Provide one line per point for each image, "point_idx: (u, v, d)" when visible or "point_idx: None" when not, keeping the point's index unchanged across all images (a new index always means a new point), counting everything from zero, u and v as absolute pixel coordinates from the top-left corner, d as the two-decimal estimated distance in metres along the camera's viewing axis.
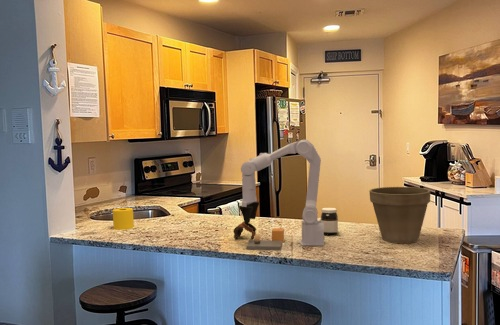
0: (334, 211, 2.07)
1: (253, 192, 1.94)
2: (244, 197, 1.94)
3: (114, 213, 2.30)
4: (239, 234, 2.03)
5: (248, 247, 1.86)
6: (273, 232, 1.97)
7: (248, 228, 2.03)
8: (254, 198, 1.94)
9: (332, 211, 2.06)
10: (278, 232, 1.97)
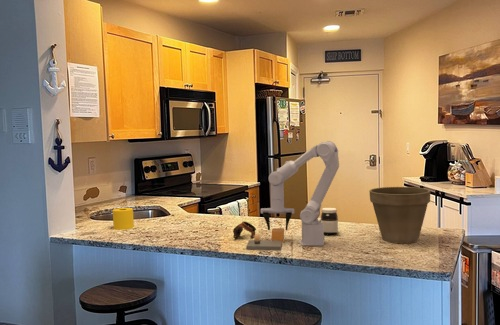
0: (334, 211, 2.07)
1: (273, 202, 1.96)
2: None
3: (114, 213, 2.30)
4: (239, 234, 2.03)
5: (248, 247, 1.86)
6: (273, 232, 1.97)
7: (248, 228, 2.04)
8: (274, 208, 1.96)
9: (332, 211, 2.06)
10: (278, 232, 1.97)
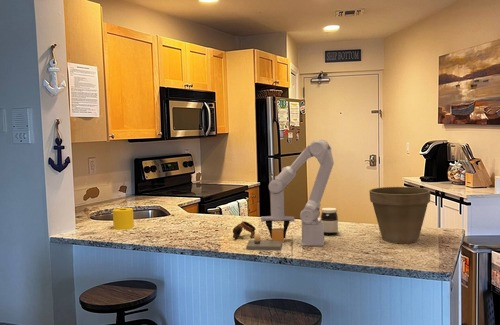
0: (334, 211, 2.07)
1: (273, 210, 1.96)
2: None
3: (114, 213, 2.30)
4: (238, 234, 2.04)
5: (248, 247, 1.86)
6: (273, 232, 1.97)
7: (247, 228, 2.04)
8: (275, 216, 1.96)
9: (332, 211, 2.06)
10: (278, 232, 1.97)
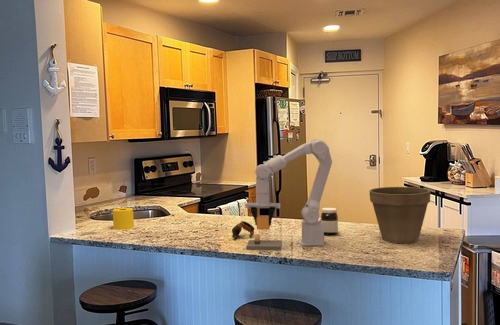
0: (334, 211, 2.07)
1: (258, 196, 1.90)
2: None
3: (114, 213, 2.30)
4: (237, 234, 2.04)
5: (248, 247, 1.86)
6: (258, 219, 1.90)
7: (246, 228, 2.04)
8: (260, 203, 1.89)
9: (332, 211, 2.06)
10: (263, 219, 1.90)
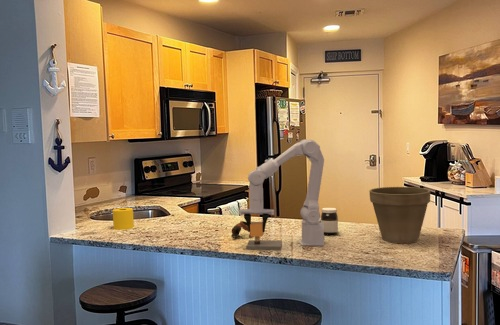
0: (334, 211, 2.07)
1: (252, 203, 1.87)
2: None
3: (114, 213, 2.30)
4: (237, 233, 2.04)
5: (248, 247, 1.86)
6: (251, 226, 1.88)
7: (246, 227, 2.05)
8: (253, 209, 1.87)
9: (332, 211, 2.06)
10: (257, 226, 1.87)
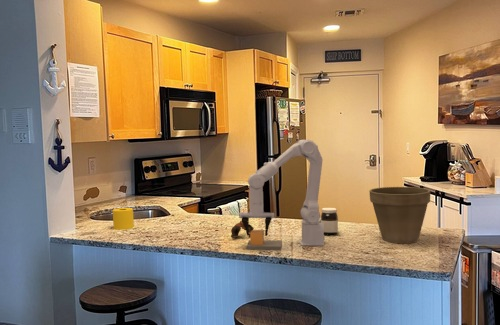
0: (334, 211, 2.07)
1: (252, 206, 1.87)
2: None
3: (114, 213, 2.30)
4: (237, 233, 2.05)
5: (248, 247, 1.86)
6: (252, 234, 1.88)
7: None
8: (253, 213, 1.87)
9: (332, 211, 2.06)
10: (257, 234, 1.88)
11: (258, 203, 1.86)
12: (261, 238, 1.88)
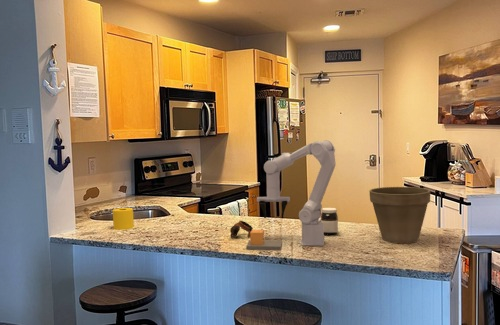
0: (334, 211, 2.07)
1: (269, 190, 2.00)
2: None
3: (114, 213, 2.30)
4: (236, 233, 2.05)
5: (248, 247, 1.86)
6: (252, 234, 1.88)
7: (245, 227, 2.05)
8: (270, 196, 2.00)
9: (332, 211, 2.06)
10: (257, 234, 1.88)
11: (275, 187, 1.99)
12: (261, 238, 1.88)
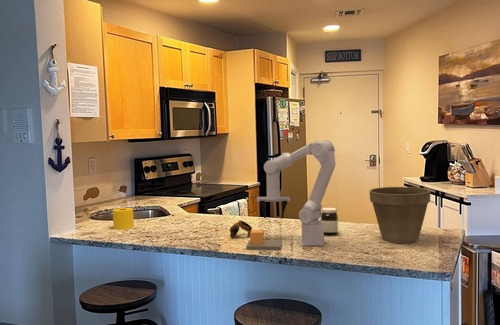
0: (334, 211, 2.07)
1: (269, 190, 2.00)
2: None
3: (114, 213, 2.30)
4: (235, 233, 2.06)
5: (248, 247, 1.86)
6: (252, 234, 1.88)
7: (244, 227, 2.06)
8: (270, 196, 2.00)
9: (332, 211, 2.06)
10: (257, 234, 1.88)
11: (275, 187, 1.99)
12: (261, 238, 1.88)
